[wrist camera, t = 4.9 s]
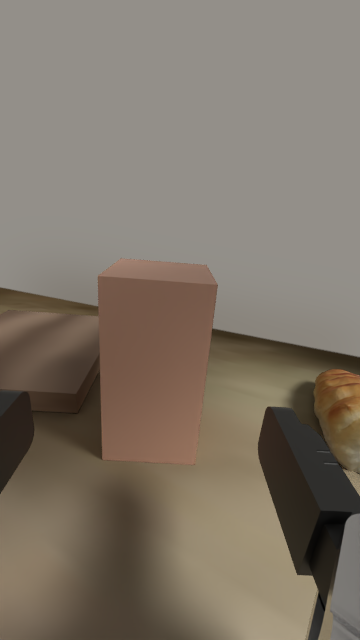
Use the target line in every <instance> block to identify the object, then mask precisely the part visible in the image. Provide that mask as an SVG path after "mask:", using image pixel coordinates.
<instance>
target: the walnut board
mask: <svg viewBox="0 0 360 640" xmlns="http://www.w3.org/2000/svg"><path fill="white" fill-rule="evenodd" d="M99 370H100V346H99V316H86V315H72V314H58V313H44V312H30V311H16V310H8V311H6V312H4V313H2V314H1V315H0V391H2V390H9V391H26V392H28V394H29V396H30V402H31V410H32V411H48V412H65V413H78V411H79V409H80V407H81V405H82V403H83V401H84V399H85V397H86V395H87V393H88V391H89V389H90V388H91V386H92V384H93V382H94V380H95V378H96V376H97V374H98V372H99Z"/></svg>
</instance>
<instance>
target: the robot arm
mask: <svg viewBox="0 0 360 640" xmlns="http://www.w3.org/2000/svg"><path fill="white" fill-rule="evenodd" d="M33 436H34V424H33V417H32V410H31V402H30V396H29V394H28V392H26V391H9V390H2V391H0V494H1V492H2V490H3V489H4V487H5V486H6V484H7V482H8V481H9V479H10V478H11V476H12V475H13V473H14V471H15V470H16V468H17V467H18V465H19V464H20V462H21V460H22V459H23V457H24V456H25V454H26V453H27V451H28V449H29V448H30V445H31V443H32V440H33ZM258 455H259V460H260V464H261V467H262V470H263V473H264V476H265V479H266V482H267V485H268V488H269V491H270V494H271V497H272V500H273V503H274V506H275V509H276V512H277V515H278V518H279V521H280V524H281V527H282V530H283V533H284V536H285V539H286V542H287V545H288V548H289V551H290V554H291V557H292V561H293V564H294V567H295V570H296V573H297V575H311V576H313V577H314V580H315V583H316V585H317V588H318V590H317V593H316V595H315V600H314V604H313V608H312V612H311V617H310V621H309V625H308V630H307V634H306V638H305V640H360V496H359V494H358V493H357V491H356V490H355V488H354V487H353V485H352V484H351V482H350V480H349V479H348V477H347V476H346V474H345V473H344V471H343V470H342V468H341V466H340V465H338V462H337V460H336V459H335V457H334V456H333V454H332V453H330V449H329V448H328V446H327V445H326V443H325V442H324V440H323V438H322V437H321V436H320V435H319V434H318V433H317V432H316V431H314V430H313V429H312V428H311V427H310V426H309V425H306V424H301V423H300V421H299V419H298V418H297V416H296V414H295V413H294V411H293V410H292V409H291V408H284V407H267V408H266V411H265V415H264V419H263V424H262V428H261V433H260V437H259V442H258Z"/></svg>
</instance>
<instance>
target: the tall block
mask: <svg viewBox="0 0 360 640" xmlns="http://www.w3.org/2000/svg"><path fill="white" fill-rule="evenodd" d="M217 287H218V285H217V283H216V281H215V279H214V277H213V276H212V274H211V272H210V270H209V268H208V267H207V265H198V264H186V263H173V262H161V261H148V260H135V259H122V258H121V259H120V260H118V261H117V262H116V263H114V264H113V265H112V266H110V267H109V268H108V269H106V270H105V271H104V272H102V273H101V274H100V275H98V300H99V301H98V305H99V346H100V386H101V426H102V460H116V461H134V462H152V463H170V464H188V465H195V460H196V452H197V444H198V436H199V429H200V421H201V413H202V405H203V397H204V389H205V381H206V373H207V366H208V358H209V350H210V342H211V334H212V325H213V318H214V310H215V303H216V295H217Z"/></svg>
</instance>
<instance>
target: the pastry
mask: <svg viewBox="0 0 360 640" xmlns="http://www.w3.org/2000/svg"><path fill="white" fill-rule="evenodd" d="M315 385H316V386H315V388H314V392H313V394H314V398H315V403H314V413H315V416H316V417H317V418H318V419H319V423H320V426H321V428H322V431H323V435H324V438H325V440H326V443H327V445H328V446H329V448H330V451H331V452H332V454H333V455H334V457H335V458H336V460H337V461H338V462H339V463H340V464H341V465H342V466H343V467H344V468H346V469H347V470H349V471H354V472H357V473H359V474H360V375H356V374H353V373H350V372H348V371H345V370H341V369H331V370H328V371H325V372H323V373H321V374H320V375H319V376H318V377H317V378H316V380H315Z"/></svg>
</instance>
